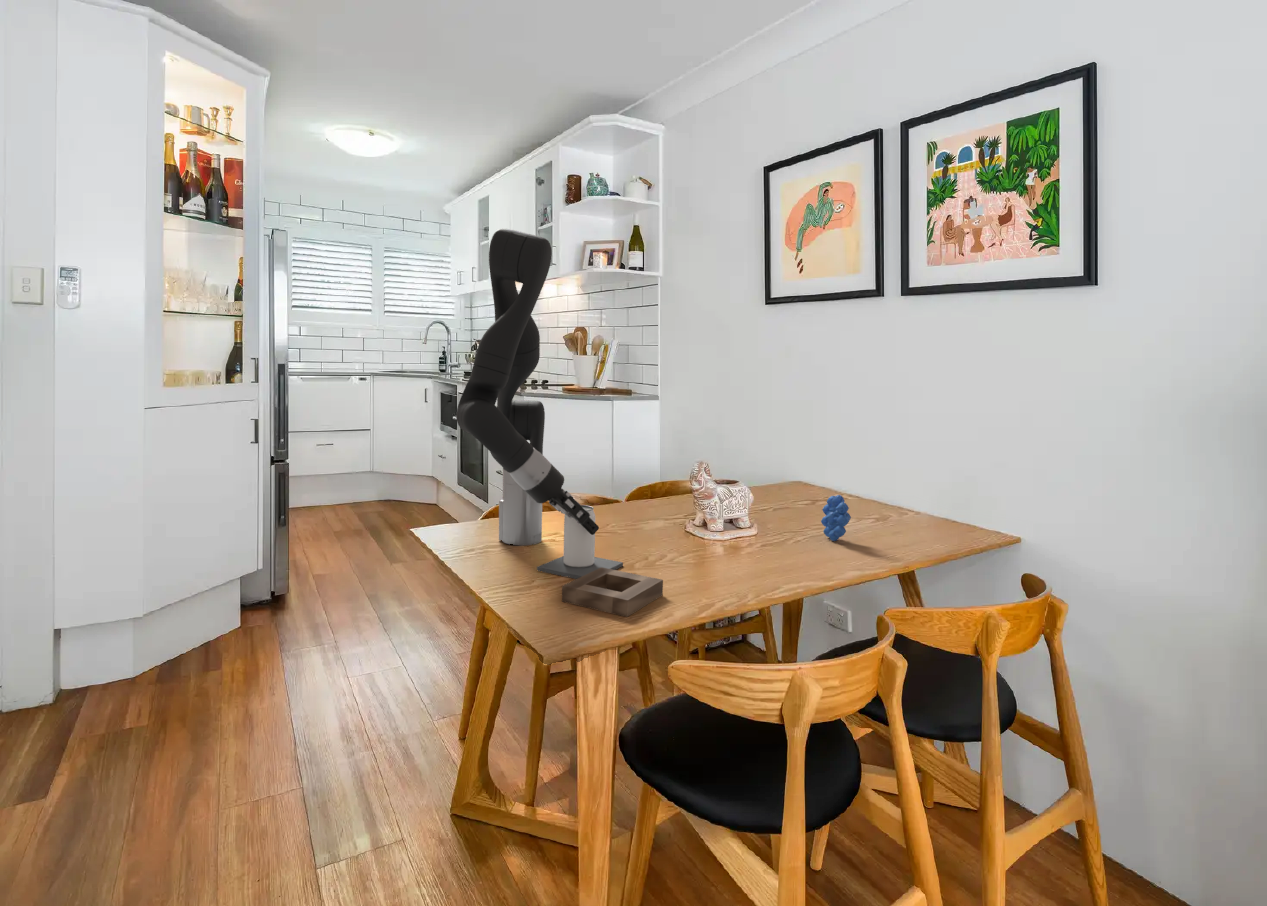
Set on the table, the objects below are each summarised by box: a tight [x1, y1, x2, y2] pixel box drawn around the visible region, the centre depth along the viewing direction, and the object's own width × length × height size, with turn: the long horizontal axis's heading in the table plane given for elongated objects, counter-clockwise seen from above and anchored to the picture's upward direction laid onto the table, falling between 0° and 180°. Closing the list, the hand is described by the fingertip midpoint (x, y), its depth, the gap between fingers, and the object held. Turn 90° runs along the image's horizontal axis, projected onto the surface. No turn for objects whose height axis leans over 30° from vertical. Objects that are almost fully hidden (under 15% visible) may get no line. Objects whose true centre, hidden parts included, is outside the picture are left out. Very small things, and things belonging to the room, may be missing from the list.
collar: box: [561, 567, 664, 618], centre depth 134 cm, size 14×14×3 cm
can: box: [563, 504, 596, 568], centre depth 151 cm, size 6×6×12 cm
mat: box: [536, 555, 624, 580], centre depth 152 cm, size 13×13×1 cm
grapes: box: [820, 494, 852, 542], centre depth 181 cm, size 12×7×12 cm, turn 10°
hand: (587, 526), depth 151 cm, fingers open, 8 cm apart
